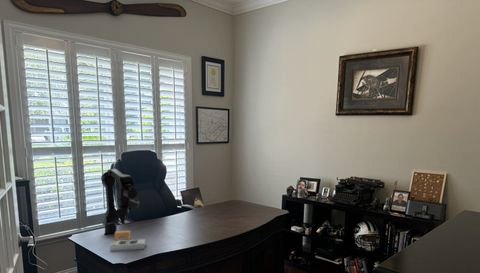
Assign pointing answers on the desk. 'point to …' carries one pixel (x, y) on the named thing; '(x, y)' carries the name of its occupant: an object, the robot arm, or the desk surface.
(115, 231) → the robot arm
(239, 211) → the desk surface
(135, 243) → the rail
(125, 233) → the clip
